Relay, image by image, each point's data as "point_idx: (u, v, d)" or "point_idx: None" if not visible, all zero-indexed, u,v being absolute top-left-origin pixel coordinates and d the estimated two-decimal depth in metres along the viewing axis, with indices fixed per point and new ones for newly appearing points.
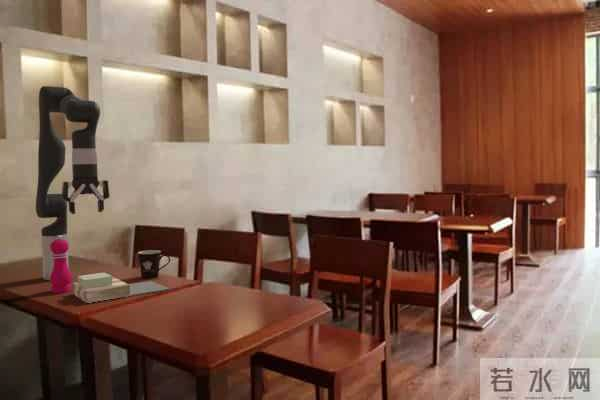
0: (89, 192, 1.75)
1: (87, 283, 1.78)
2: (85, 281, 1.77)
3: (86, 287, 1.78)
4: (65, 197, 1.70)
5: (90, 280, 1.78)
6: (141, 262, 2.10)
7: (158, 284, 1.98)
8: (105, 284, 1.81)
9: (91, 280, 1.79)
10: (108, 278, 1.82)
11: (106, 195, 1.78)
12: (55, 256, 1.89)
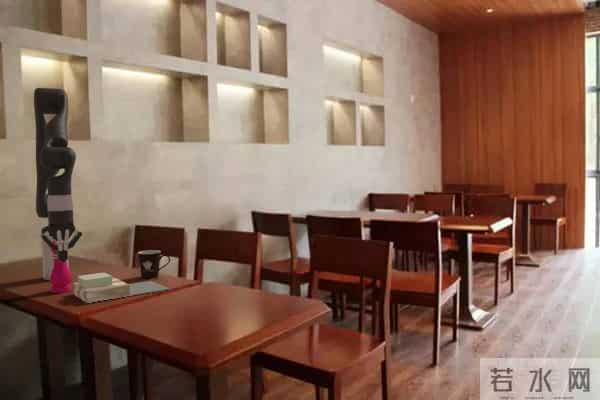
0: None
1: (87, 283, 1.78)
2: (85, 281, 1.77)
3: (86, 287, 1.78)
4: (54, 246, 1.73)
5: (90, 280, 1.78)
6: (141, 262, 2.10)
7: (158, 284, 1.98)
8: (105, 284, 1.81)
9: (91, 280, 1.79)
10: (108, 278, 1.82)
11: (70, 245, 1.77)
12: (55, 256, 1.89)
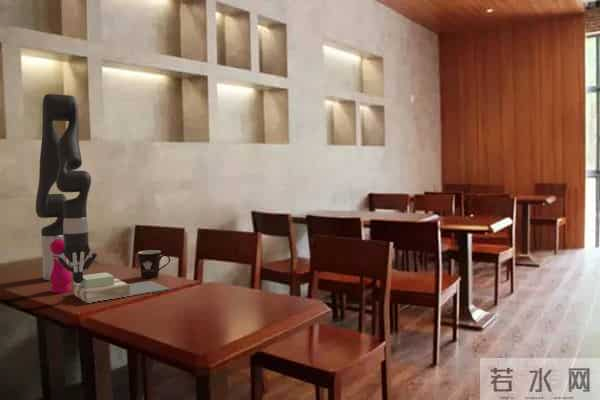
0: None
1: (89, 283, 1.78)
2: (87, 281, 1.78)
3: (88, 287, 1.78)
4: (69, 268, 1.77)
5: (92, 280, 1.79)
6: (141, 262, 2.10)
7: (158, 284, 1.98)
8: (107, 284, 1.82)
9: (93, 280, 1.79)
10: (110, 278, 1.82)
11: (85, 266, 1.80)
12: (55, 256, 1.89)
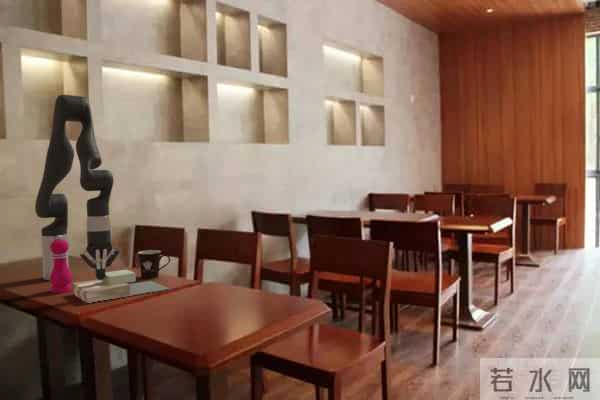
0: None
1: (112, 280, 1.83)
2: (110, 278, 1.82)
3: (111, 283, 1.82)
4: (92, 265, 1.81)
5: (115, 277, 1.83)
6: (141, 262, 2.10)
7: (158, 284, 1.98)
8: (129, 280, 1.86)
9: (116, 277, 1.83)
10: (132, 275, 1.87)
11: (107, 263, 1.84)
12: (55, 256, 1.89)
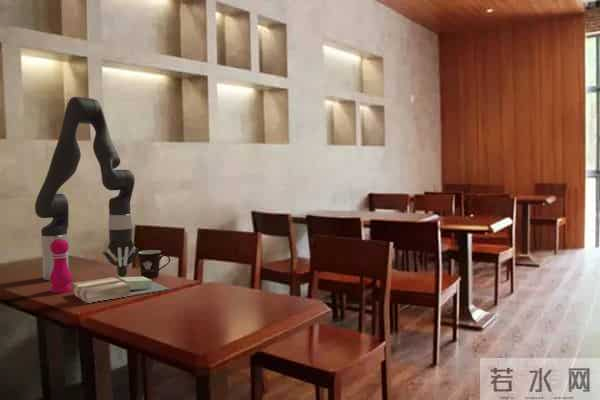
0: None
1: (129, 284, 1.86)
2: (127, 282, 1.86)
3: None
4: (114, 262, 1.86)
5: (132, 282, 1.87)
6: (141, 262, 2.10)
7: (158, 284, 1.98)
8: (145, 287, 1.90)
9: (133, 282, 1.87)
10: (148, 282, 1.91)
11: (129, 261, 1.89)
12: (55, 256, 1.89)
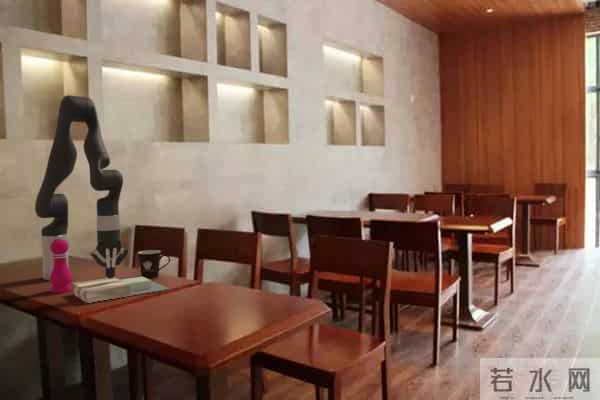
0: None
1: None
2: None
3: None
4: (102, 264, 1.83)
5: (131, 284, 1.87)
6: (141, 262, 2.10)
7: (158, 284, 1.98)
8: (144, 288, 1.90)
9: (132, 284, 1.87)
10: (147, 282, 1.91)
11: (117, 262, 1.87)
12: (55, 256, 1.89)
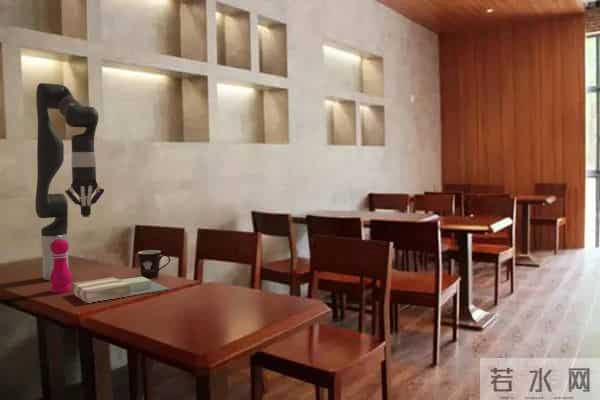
0: None
1: None
2: None
3: None
4: (77, 201, 1.81)
5: (131, 284, 1.87)
6: (141, 262, 2.10)
7: (158, 284, 1.98)
8: (144, 288, 1.90)
9: (132, 284, 1.87)
10: (147, 282, 1.91)
11: (93, 200, 1.84)
12: (55, 256, 1.89)
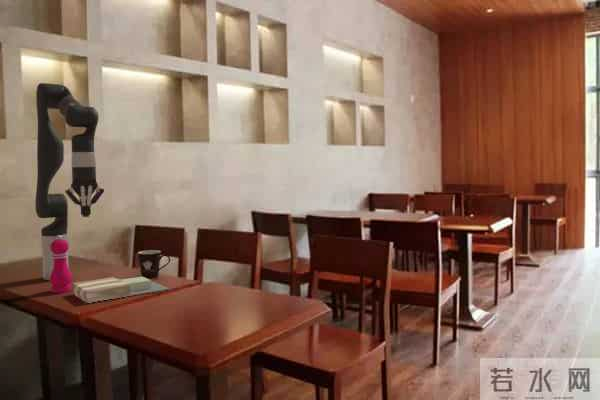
0: None
1: None
2: None
3: None
4: (77, 201, 1.81)
5: (131, 284, 1.87)
6: (141, 262, 2.10)
7: (158, 284, 1.98)
8: (144, 288, 1.90)
9: (132, 284, 1.87)
10: (147, 282, 1.91)
11: (93, 200, 1.84)
12: (55, 256, 1.89)
